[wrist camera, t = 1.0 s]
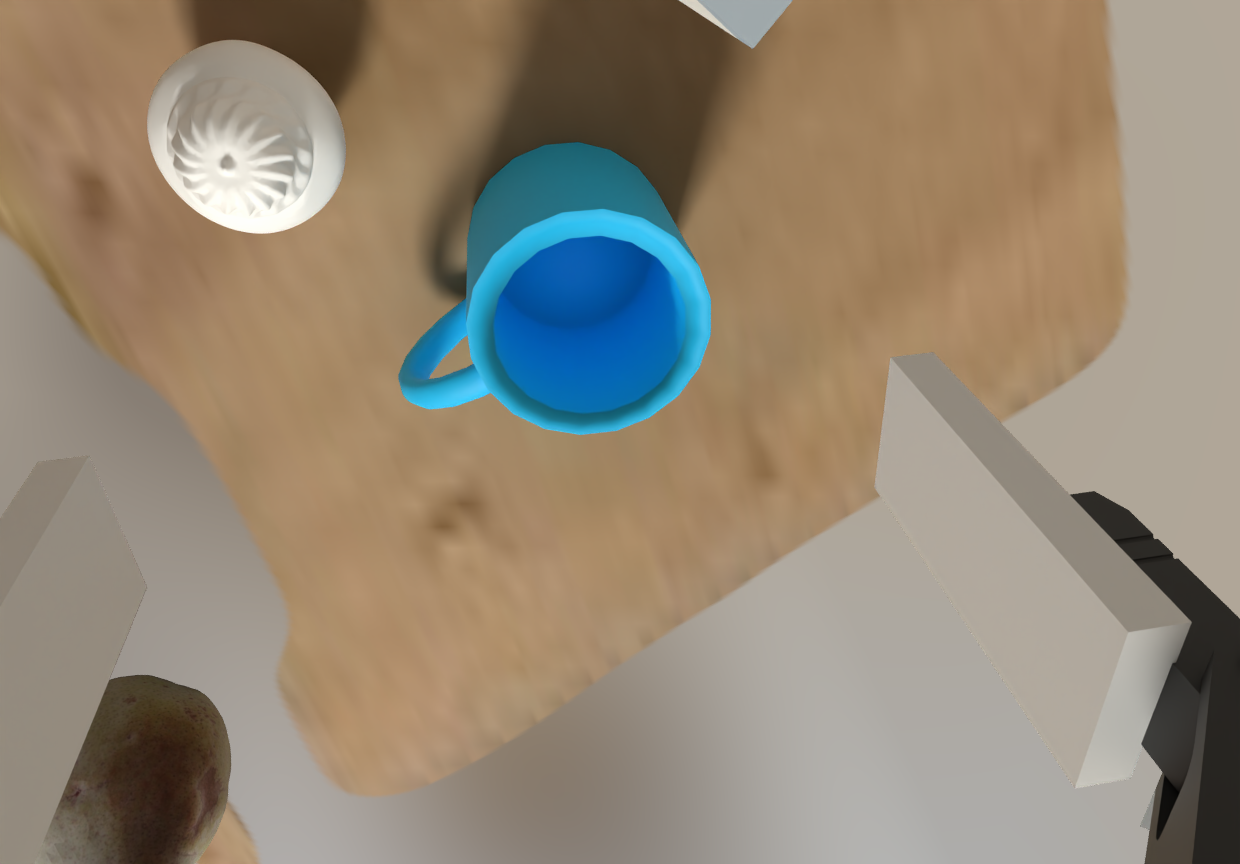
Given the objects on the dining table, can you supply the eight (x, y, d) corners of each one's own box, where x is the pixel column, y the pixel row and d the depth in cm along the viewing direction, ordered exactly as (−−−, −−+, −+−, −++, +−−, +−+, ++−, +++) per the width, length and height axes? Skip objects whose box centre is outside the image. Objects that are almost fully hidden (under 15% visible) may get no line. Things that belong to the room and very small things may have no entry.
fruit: (210, 796, 51) (145, 1026, 41) (25, 755, 48) (-95, 994, 38) (276, 672, 47) (221, 894, 37) (78, 618, 44) (-40, 845, 34)
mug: (605, 99, 35) (638, 158, 28) (702, 272, 39) (751, 360, 32) (345, 263, 37) (316, 355, 30) (464, 410, 41) (462, 522, 34)
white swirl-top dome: (163, 18, 31) (91, 54, 25) (349, 29, 32) (322, 66, 26) (193, 198, 34) (135, 267, 29) (362, 203, 35) (340, 270, 30)
